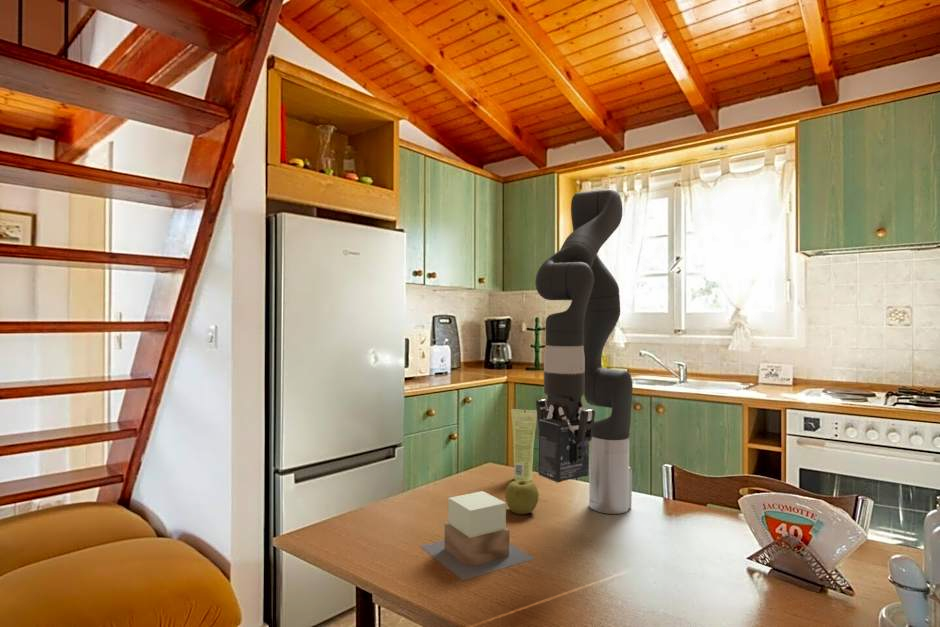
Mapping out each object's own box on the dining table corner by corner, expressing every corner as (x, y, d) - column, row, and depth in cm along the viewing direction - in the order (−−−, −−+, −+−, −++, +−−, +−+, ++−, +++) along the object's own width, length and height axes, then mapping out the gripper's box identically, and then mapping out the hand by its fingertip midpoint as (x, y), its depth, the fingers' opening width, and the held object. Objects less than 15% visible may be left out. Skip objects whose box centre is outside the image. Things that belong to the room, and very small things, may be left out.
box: (558, 483, 98) (558, 424, 98) (537, 475, 103) (538, 419, 103) (589, 476, 103) (590, 419, 102) (568, 468, 107) (568, 414, 107)
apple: (498, 513, 127) (498, 482, 127) (518, 504, 133) (518, 475, 133) (525, 522, 122) (525, 489, 122) (545, 512, 128) (545, 481, 128)
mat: (487, 531, 117) (487, 529, 117) (535, 560, 103) (535, 558, 103) (420, 548, 108) (420, 546, 108) (462, 582, 95) (462, 580, 95)
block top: (482, 515, 111) (482, 491, 111) (505, 529, 104) (506, 502, 104) (448, 523, 107) (448, 497, 107) (470, 538, 100) (470, 510, 100)
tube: (525, 475, 157) (526, 407, 157) (537, 480, 153) (538, 409, 153) (509, 478, 154) (510, 409, 154) (521, 483, 150) (522, 411, 150)
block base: (482, 539, 112) (483, 514, 112) (509, 555, 104) (509, 529, 104) (444, 548, 107) (444, 523, 107) (469, 567, 99) (469, 539, 99)
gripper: (607, 372, 98) (606, 466, 99) (554, 364, 111) (553, 448, 111) (576, 374, 94) (575, 472, 95) (524, 367, 107) (524, 453, 107)
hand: (563, 459), depth 103 cm, fingers closed on box, 5 cm apart
